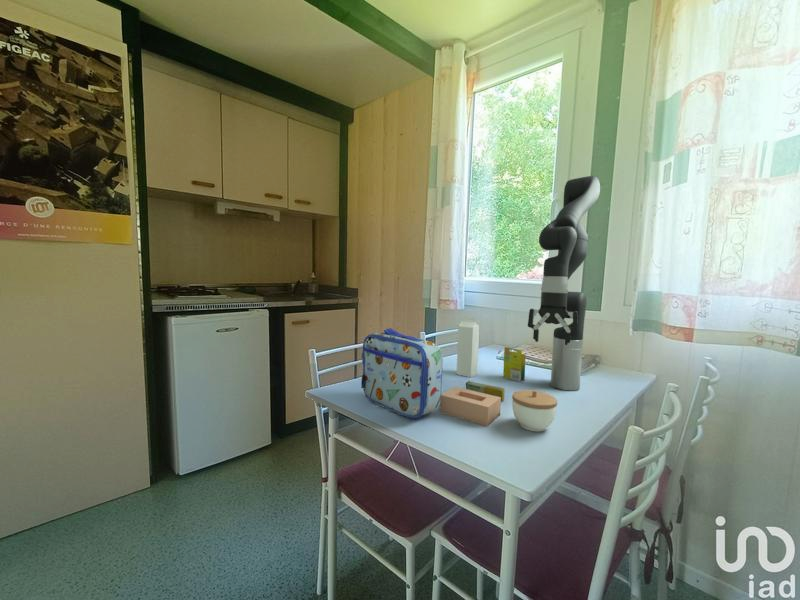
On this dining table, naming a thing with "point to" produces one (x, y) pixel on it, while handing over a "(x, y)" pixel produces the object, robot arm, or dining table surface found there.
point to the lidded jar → (534, 409)
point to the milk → (468, 347)
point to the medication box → (486, 389)
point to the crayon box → (514, 364)
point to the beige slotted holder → (470, 405)
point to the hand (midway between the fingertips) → (551, 343)
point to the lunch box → (402, 373)
